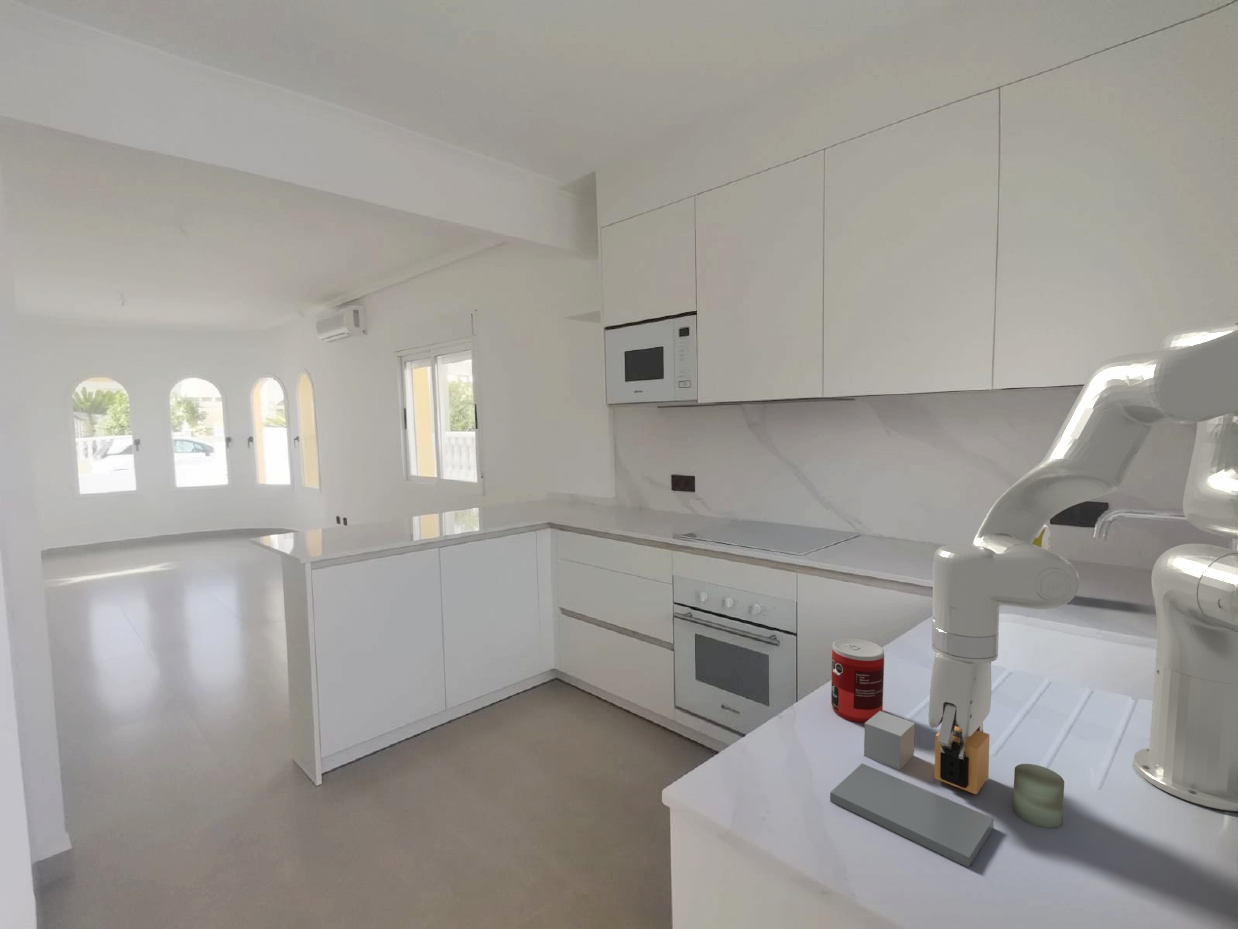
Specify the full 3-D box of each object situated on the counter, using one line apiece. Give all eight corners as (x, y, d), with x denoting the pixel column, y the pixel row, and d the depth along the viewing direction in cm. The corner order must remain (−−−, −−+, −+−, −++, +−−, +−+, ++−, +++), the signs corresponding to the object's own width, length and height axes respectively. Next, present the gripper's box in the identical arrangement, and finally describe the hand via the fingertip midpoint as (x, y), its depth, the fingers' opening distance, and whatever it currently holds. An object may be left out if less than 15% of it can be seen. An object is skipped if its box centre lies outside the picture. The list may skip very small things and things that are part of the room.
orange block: (947, 762, 85) (948, 721, 85) (988, 777, 82) (989, 734, 81) (934, 778, 82) (935, 735, 81) (976, 794, 78) (977, 749, 78)
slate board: (861, 771, 84) (861, 763, 84) (993, 827, 73) (993, 818, 73) (830, 801, 78) (830, 792, 78) (968, 868, 67) (969, 857, 67)
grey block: (878, 743, 92) (879, 710, 91) (913, 756, 88) (914, 723, 88) (863, 756, 88) (864, 723, 88) (899, 770, 85) (900, 736, 84)
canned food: (840, 696, 106) (841, 634, 105) (888, 710, 101) (890, 645, 100) (823, 713, 100) (824, 648, 99) (874, 729, 95) (876, 661, 94)
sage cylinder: (1017, 796, 79) (1019, 759, 78) (1065, 813, 75) (1067, 774, 75) (1008, 815, 75) (1010, 776, 75) (1058, 834, 72) (1060, 793, 71)
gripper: (955, 617, 88) (952, 737, 90) (908, 652, 77) (906, 790, 78) (1015, 629, 83) (1011, 757, 85) (975, 669, 71) (971, 817, 73)
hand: (961, 772), depth 82 cm, fingers closed on orange block, 5 cm apart
